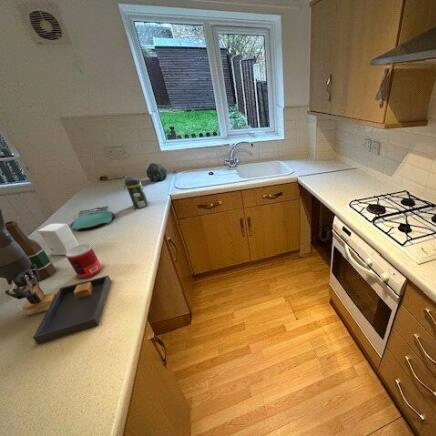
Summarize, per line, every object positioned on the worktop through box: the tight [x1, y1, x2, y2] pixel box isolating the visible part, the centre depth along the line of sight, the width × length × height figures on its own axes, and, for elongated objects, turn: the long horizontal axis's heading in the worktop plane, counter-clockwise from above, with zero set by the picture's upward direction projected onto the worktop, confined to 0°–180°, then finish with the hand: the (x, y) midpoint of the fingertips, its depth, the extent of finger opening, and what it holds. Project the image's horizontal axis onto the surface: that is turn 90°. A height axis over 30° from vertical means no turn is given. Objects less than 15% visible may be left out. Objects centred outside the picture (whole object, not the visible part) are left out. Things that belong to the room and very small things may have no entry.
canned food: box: [65, 243, 102, 279], centre depth 94 cm, size 8×8×11 cm
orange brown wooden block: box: [74, 282, 94, 299], centre depth 85 cm, size 4×4×3 cm
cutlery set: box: [70, 205, 115, 231], centre depth 138 cm, size 20×30×2 cm, turn 33°
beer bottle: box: [5, 220, 57, 281], centre depth 90 cm, size 8×8×24 cm
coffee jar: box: [124, 175, 149, 209], centre depth 148 cm, size 10×8×19 cm
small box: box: [37, 223, 80, 256], centre depth 107 cm, size 8×6×13 cm
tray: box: [32, 275, 112, 345], centre depth 80 cm, size 15×22×3 cm
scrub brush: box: [22, 285, 57, 316], centre depth 79 cm, size 7×4×9 cm, turn 115°
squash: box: [146, 162, 168, 182], centre depth 194 cm, size 14×15×15 cm
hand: (38, 299), depth 79 cm, fingers closed on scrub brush, 2 cm apart
